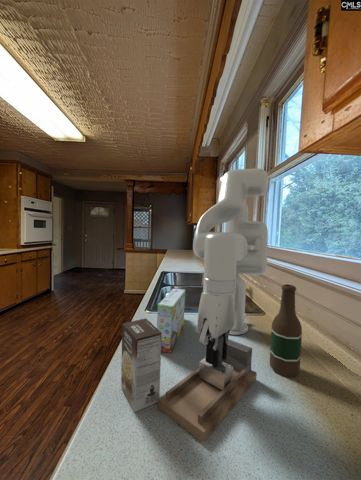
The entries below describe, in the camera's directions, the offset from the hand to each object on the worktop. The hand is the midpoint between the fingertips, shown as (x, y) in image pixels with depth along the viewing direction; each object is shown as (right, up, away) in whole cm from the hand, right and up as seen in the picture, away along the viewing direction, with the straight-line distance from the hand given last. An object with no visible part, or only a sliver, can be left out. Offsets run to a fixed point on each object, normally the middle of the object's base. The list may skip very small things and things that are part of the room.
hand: (216, 359), depth 56 cm
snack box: (-12, -6, +27) cm, 30 cm away
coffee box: (-18, -7, -2) cm, 20 cm away
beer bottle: (+21, -8, +9) cm, 24 cm away
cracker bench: (-1, -7, -1) cm, 8 cm away
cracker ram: (0, -5, 0) cm, 5 cm away
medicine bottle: (-12, -5, +42) cm, 44 cm away
